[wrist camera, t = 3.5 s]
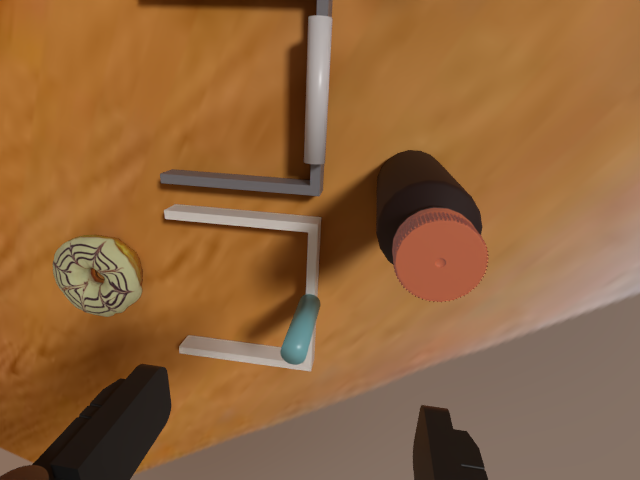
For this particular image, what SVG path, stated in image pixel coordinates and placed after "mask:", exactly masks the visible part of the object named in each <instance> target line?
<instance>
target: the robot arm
mask: <svg viewBox="0 0 640 480" xmlns="http://www.w3.org/2000/svg"><path fill="white" fill-rule="evenodd" d="M170 411H171V398H170V390H169V382H168V374H167V370H166V368H165V367H160V366H153V365H146V364H140V365H139V366H137V367H136V368H135V369H134V371H133V372H132V373H131V374H130V375H129V376H128V377H127V378H126V379H121V378H120V379H119V380H117V381H116V382H114V383H112V384H111V385H109V386H108V387H106V388H105V389H103V390H102V391H101V392H100V393H99V394H98V395H97V397H96V398H95V399H94V400H93V401H92V402H91V403H90V406H87V407H86V408H85V409H84V410H83V411H82V413H81V414H80V416H79V417H78V418H76V419H75V420H74V421H73V422H72V423H71V424H70V425H69V426H68V427H67V428H66V430H65V431H64V432H63V433H62V434H61V435H60V436H59V437H58V438H57V439H56V440H55V441H54V442H53V443H52V444H51V445H50V447H49V448H48V449H47V450H46V451H45V452H44V453H43V454H42V455H41V456H40V457H39V458H38V459H37V460H36V461H35V462H34V463H33V464H32V465H28V466H22V467H19V468H16V469H14V470H11V471H9V472H7V473H5V474H4V475H2V476H0V480H130V479H131V477H132V476H133V474H134V472H135V471H136V469H137V468H138V466H139V465H140V463H141V462H142V460H143V459H144V457H145V455H146V454H147V452H148V451H149V449H150V448H151V446H152V445H153V443H154V442H155V440H156V439H157V437H158V435H159V434H160V432H161V431H162V429H163V428H164V426H165V425H166V423H167V421H168V418H169V415H170ZM413 470H414V480H488V478H487V474H486V471H485V470H484V464H483V460H482V457H481V454H480V450H479V448H478V446H477V445H476V443H475V442H474V441H473V439H472V438H471V437H470V435H469V434H468V432H467V431H461V430H455V429H453V426H452V422H451V418H450V413H449V411H448V409H445V408H439V407H432V406H424V405H422V406H421V408H420V412H419V418H418V423H417V428H416V433H415V439H414V446H413Z"/></svg>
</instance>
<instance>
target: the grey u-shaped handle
mask: <svg viewBox="0 0 640 480" xmlns="http://www.w3.org/2000/svg"><path fill="white" fill-rule="evenodd" d="M331 35H332V0H317V14H316V15H314V16H309V17H308V46H307V78H306V110H305V142H304V163H307V164H311V172H310V180H301V179H288V178H275V177H262V176H249V175H237V174H224V173H211V172H198V171H185V170H169V171H166V172H163V173H161V174H160V178H161V183H166V184H178V185H190V186H202V187H214V188H226V189H238V190H251V191H263V192H275V193H287V194H299V195H311V196H320V194H321V193H322V191H323V176H324V163H325V151H326V132H327V112H328V93H329V73H330V54H331Z"/></svg>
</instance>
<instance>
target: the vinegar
mask: <svg viewBox="0 0 640 480" xmlns="http://www.w3.org/2000/svg"><path fill="white" fill-rule="evenodd" d="M481 231H482V222H481V215H480V211H479V209H478V207H477V206H476V204H475V202H474V200H473V198H472V197H471V196H470V195H469V194H468V193H467V192H466V191H465V190H464V188H463V187H462V186H461V185H460V184H459V183H458V182H457V181H456V180H455V179H454V178H453V177H452V176H451V175H450V174H449V173H448V172H447V170H446V169H445V168H444V167H443V166H442V165H441V164H440V163H439V162H438V161H437V160H436V159H435V158H433V157H432V156H431V155H429V154H427V153H424V152H422V151H413V150H408V151H405V152H401V153H398V154H396V155H395V156H393V157H391V158H390V159H389V160H388V161H387V162H386V163H385V164H384V165H383V167H382V168H381V170H380V173H379V175H378V179H377V223H376V234H377V238H378V242H379V246H380V249H381V250H382V252H383V253H384V255H385V257H386V258H387V260H388V261H389V262H391V263H392V264H393V265H394V269H395V273H396V276H397V279H399V282H401V285H403V288H406V290H409V293H410V292H411V293H412V295H413V294H414V295H415V297H416V296H418V298H422V300H423V299H425V300H429V302H430V301H433V302H434V301H437V302H438V301H439V302H442V301H445V302H446V301H448V300H449V301H450V300H454V299H457V298H459V297H460V298H461V296H465V294H468V293H469V292H471V290H472V289H474V287H475V286H476V287H477V285H478V284H480V283H479V282H480V280H481V281H482V279H481V278H482V277H484V276H483V275H484V274H486V273H485V270H487V269H486V267H488V266H487V263H488V261H487V260H488V257H487V256H489V255H488V254H487V252H488V251H487V247H486V246H485V245H486V244H485V242H484V240H483V239H482V237H481Z"/></svg>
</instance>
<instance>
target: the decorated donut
mask: <svg viewBox="0 0 640 480" xmlns="http://www.w3.org/2000/svg"><path fill="white" fill-rule="evenodd" d="M96 271H98V272H99V273H100V274H101V275H102V276H104V278H105V280H103V279H100V278H99V277H98V276H97V272H96ZM53 274H54V277H55V280H56V283H57V285H58V286H59V288H60V289H61V291H62V292H63V293H64V295H65V296H66V297H67V299H68V300H69V301H70V302H71V303H72V304H73V305H74V306H75V307H76V308H78V309H81V310H83V311H84V312H86V313H90V314H94V315H100V316H105V317H109V316H113V315H114V314H115V313H122V312H124V311H125V309H126V308H127V307H128V306H130V305H131V304H133V303H135V302H136V301H137V300H138V299H139V298H140V296H141V294H142V287H141V285H142V281H143V279H142V277H143V270H142V267H141V263H140V259H139V257H138V256H137V253H136V252H135V251H134V250H132V249H130V247H129V246H127V245H126V244H125V243H123V242H122V241H121V240H120V239H118V238H113V237H107V236H101V235H83V236H79V237H76V238H74V239H71V240H69V241H68V242H66V243H64V244H63V245H62V246H61V247H60V248H59V249H57V251H56V253H55V256H54V261H53Z"/></svg>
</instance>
